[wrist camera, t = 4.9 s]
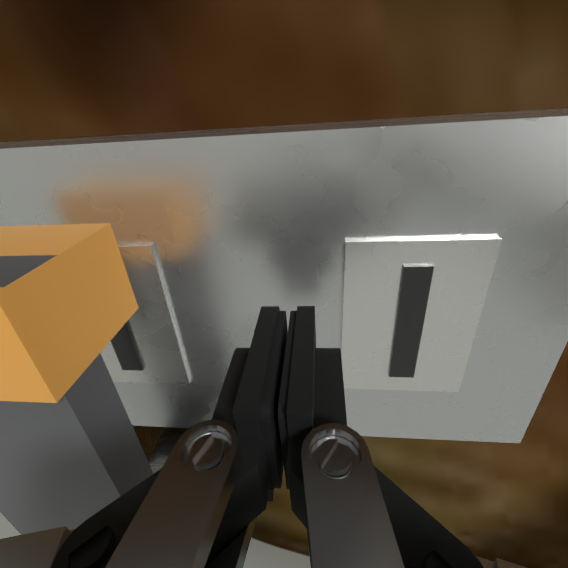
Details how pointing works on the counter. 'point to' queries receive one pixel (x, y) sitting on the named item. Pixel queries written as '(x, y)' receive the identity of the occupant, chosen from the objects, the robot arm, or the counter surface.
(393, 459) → the counter surface
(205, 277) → the panel
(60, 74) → the counter surface
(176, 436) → the pivot post
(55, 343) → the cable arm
